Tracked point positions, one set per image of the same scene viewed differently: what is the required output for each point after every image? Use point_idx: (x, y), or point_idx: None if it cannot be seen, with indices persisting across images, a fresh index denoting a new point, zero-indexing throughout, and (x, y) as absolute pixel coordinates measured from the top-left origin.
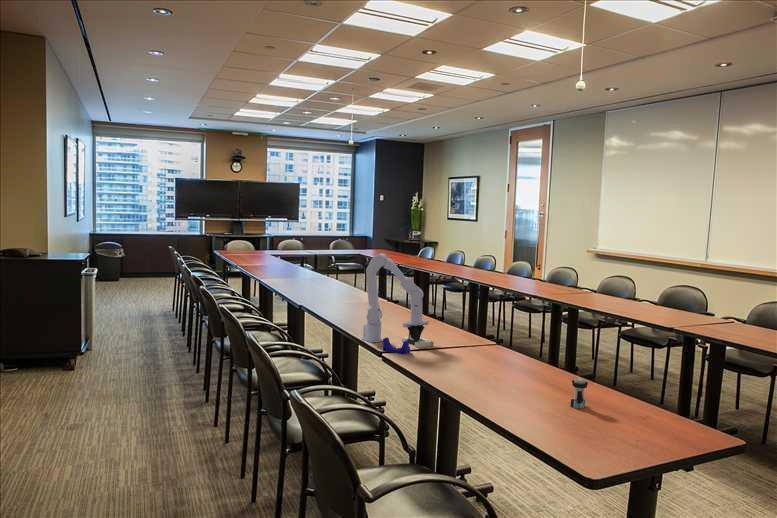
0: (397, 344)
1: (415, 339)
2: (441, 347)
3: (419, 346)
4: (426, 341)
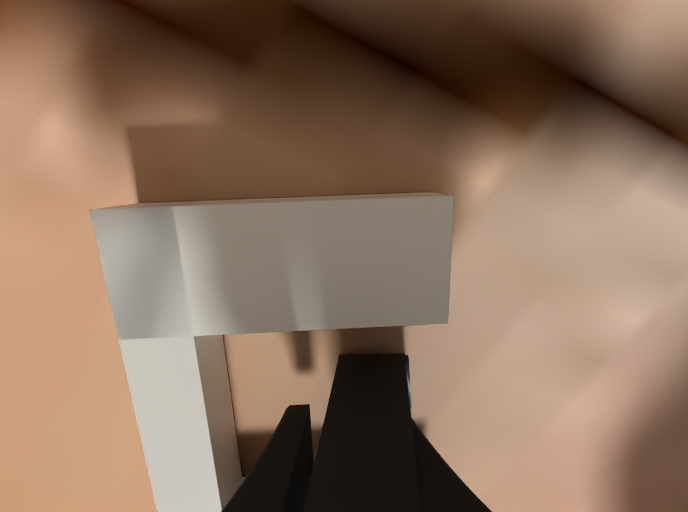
0: (566, 444)
1: (391, 397)
2: (54, 35)
3: (427, 192)
4: (223, 274)
